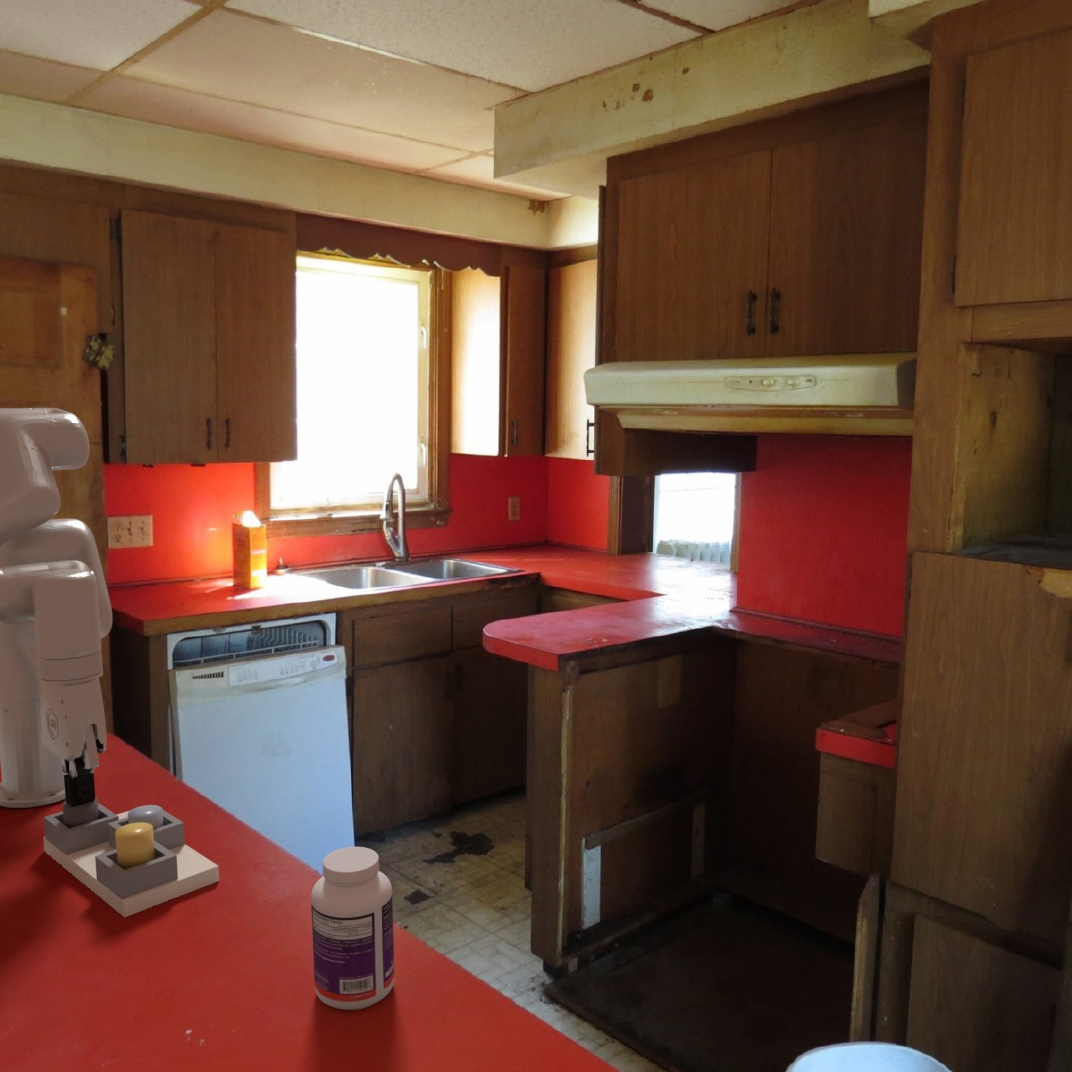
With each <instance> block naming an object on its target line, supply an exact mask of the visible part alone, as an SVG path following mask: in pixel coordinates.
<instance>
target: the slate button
mask: <svg viewBox="0 0 1072 1072" xmlns="http://www.w3.org/2000/svg"><path fill="white" fill-rule="evenodd" d="M162 810H163V807H161V806H159V805H156V804H147V805H146V804H145V805H140V806H137V807H134V808H132V809H130V810H128V811H129V812H128V824H131V823H139V822H143V823H149V824H151V825H152V826H153V829H156V828H159V827H162V826H163V812H162Z"/></svg>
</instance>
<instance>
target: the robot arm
mask: <svg viewBox="0 0 1072 1072" xmlns="http://www.w3.org/2000/svg"><path fill="white" fill-rule="evenodd" d="M90 449H91V448H90V440H89V436H88V432H87V430H86V428H85V425H84V424H83V422H82V421H81V420H80V419H79V417H78V416H76V414H74V413H72V412H69V411H66V410H64V409H61V408H57V407H22V408H21V407H12V408H11V407H7V408H6V407H0V771H1V772H0V773H1V782H0V807H4V808H13V809H25V808H34V807H43V806H46V805H50V804H55V803H58V802H61V801H66V803H67V804H69V805H70V806H71V807H75V806H79V805H82V804H86V803H89V802H92V801H94V800H95V797H96V788H95V787H96V786H95V785H96V784H95V774H94V773H95V769H96V768H97V767H99V766H100V761H99V754H103V753H104V752H105V751H106V749H107V726H106V725H107V723H106V716H105V707H104V700H103V695H102V688H101V682H100V678H101V677H103V675H104V669H103V655H102V654H103V653H102V652H103V651H102V639H104V638H105V637H106V636H108V634H109V633H110V631H111V630H112V627H113V610H112V604H111V600H110V596H109V591H108V587H107V584H106V583H107V582H106V579H105V575H104V571H103V567H102V562H101V559H100V555H99V550H98V546H97V543H96V539H95V537H94V534H93V533H92V530H91V528H90V527H89V526H88V525H87V524H86V523H85V522H84V521H82V520H79V519H77V518H68V517H67V518H54V516H56V514H57V513H58V512H59V510H60V507H61V505H62V499H61V494H60V492H59V491H60V490H59V488H58V485H57V482H56V478H55V475H54V471H69V470H71V471H72V470H78V469H81V468H83V467H84V466H85V465H86V464H87V463H88V460H89V457H90Z"/></svg>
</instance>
